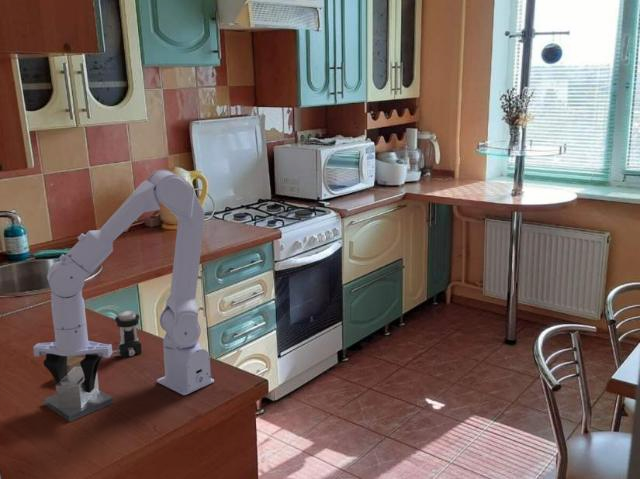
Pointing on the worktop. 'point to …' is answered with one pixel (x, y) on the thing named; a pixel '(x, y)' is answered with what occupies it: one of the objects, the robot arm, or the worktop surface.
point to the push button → (128, 334)
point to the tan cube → (73, 362)
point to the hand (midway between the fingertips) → (77, 389)
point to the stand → (70, 414)
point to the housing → (74, 389)
